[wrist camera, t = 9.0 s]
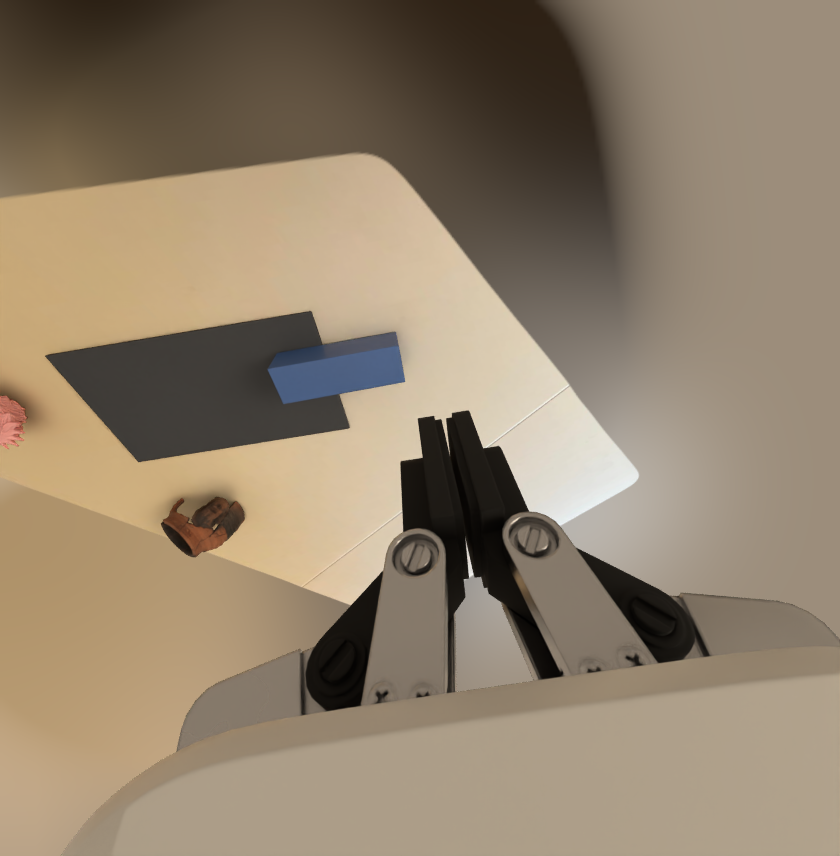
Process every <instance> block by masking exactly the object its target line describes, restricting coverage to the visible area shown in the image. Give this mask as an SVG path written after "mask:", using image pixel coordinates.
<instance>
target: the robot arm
mask: <svg viewBox="0 0 840 856" xmlns="http://www.w3.org/2000/svg"><path fill="white" fill-rule="evenodd" d="M446 422H447V431H448V441H449V450H450V454H449V450H448V446H447V442H446V437H445V433H444V429H443V424H442V420H441V419H440V420H435V418H434V416H430V417H424V418H418V424H419V432H420V440H421V447H422V455H423V458H419V459H413V460H406V461H401V488H402V511H403V533H401V534H399V535H398V536H397V537H396V538H394V540H393V541H392V542H391V544H390V545H389V547H388V550H387V553H386V558H385V564H384V570H383V571H382V572H381V573H380V575H379V576H378V577H377V578H376V579H375V580H374V581H373V582H372V583H371V584H370V585H369V587H368V588H367V589H366V590H365V591H364V592H363V593H362V594H361V595H360V596H359V597H358V599H357V600H356V601H355V602H354V603H353V604H352V605H351V606H350V607H349V608H348V609H347V611H346V612H345V613H344V614H343V615H342V616H341V617H340V618H339V619H338V620H337V622H336V623H335V624H334V625H333V626H332V627H331V628H330V629H329V630H328V631H327V632H326V633H325V635H324V636H323V637H322V638H321V639H320V640H319V642H318V643H317V644H316V646H315V647H313V648H310V649H308V650H305V651H302V650H301V649H298V650H296V651H293V652H291V653H288V654H286V655H283V656H281V657H278V658H276V659H274V660H271V661H269V662H267V663H264V664H261V665H259V666H257V667H254V668H252V669H249V670H247V671H245V672H242V673H240V674H237V675H235V676H232V677H230V678H228V679H225V680H223V681H220V682H218V683H216V684H215V685H213V686H211V687H210V688H208V689H207V690H206V691H205V692H204V693H203V694H202V695H201V696H200V697H199V698H198V699H197V700H196V701H195V702H194V704H193V706H192V707H191V709H190V710H189V712H188V713H187V715H186V718H185V720H184V724H183V726H182V729H181V733H180V737H179V742H178V747H177V751H176V752H175V753H173V754H172V755H170V756H168V757H166V758H164V759H162V760H160V761H159V762H157V763H156V764H154V765H153V766H152V767H150V768H149V769H147V770H145V771H144V772H143V773H141V774H139V775H138V776H137V777H135V778H134V779H132V780H131V781H130V782H129V783H127V784H126V785H125V786H124V787H123V788H121V789H120V790H119V791H117V792H116V793H115V794H114V795H113V796H111V797H110V798H109V799H108V800H107V801H106V802H105V803H104V804H103V805H102V806H101V807H100V808H99V809H98V810H96V811H95V813H94V814H93V815H92V816H91V817H90V818H89V819H88V820H87V822H86V823H85V824H84V825H83V826H82V828H81V829H80V830H79V831H78V833H77V834H76V835H75V837H74V838H73V839H72V840H71V842H70V843H69V844H68V846H67V847H66V849H65V850H64V852H63V853H62V854H61V856H840V639H839V638H838V637H837V636H836V635H835V634H834V632H833V631H832V630H831V629H830V628H829V627H827V625H826V624H825V623H824V622H822V621H821V620H819V619H818V618H816V617H815V616H814V615H812V614H811V613H809V612H808V611H806V610H803V609H801V608H799V607H797V606H795V605H793V604H789V603H784V602H780V601H774V600H762V599H750V598H738V597H726V596H714V595H703V594H691V593H680V595H679V596H669V595H667V594H666V593H664V592H662V591H661V590H659V589H657V588H655V587H653V586H651V585H649V584H647V583H645V582H643V581H641V580H639V579H637V578H635V577H633V576H631V575H630V574H627V573H625V572H624V571H622V570H620V569H618V568H616V567H614V566H612V565H610V564H608V563H606V562H604V561H601V560H600V559H598V558H596V557H594V556H592V555H590V554H588V553H586V552H583V551H582V550H580V549H578V548H576V547H575V546H574V545H573V544H572V542H571V541H570V539H569V538H568V536H567V535H566V534H565V533H564V531H563V530H562V528H561V527H560V526H559V525H558V524H557V523H556V522H555V521H554V520H553V519H551V518H549V517H548V516H546V515H543V514H540V513H537V512H529V510H528V508H527V506H526V504H525V501H524V499H523V497H522V494H521V492H520V490H519V488H518V485H517V483H516V481H515V479H514V476H513V474H512V472H511V469H510V467H509V465H508V463H507V460H506V458H505V456H504V454H503V451H502V449H501V448H500V447H499V446H496V447H490V448H483V447H482V444H481V441H480V439H479V436H478V433H477V431H476V428H475V425H474V423H473V420H472V417H471V414H470V412H469V411H462V412H456V413H452V418H446ZM465 538H466V540H465ZM466 542H467V547H468V551H469V556H470V560H471V565H472V569H473V573H474V577H481V578H482V582H483V586H484V588H488V592H489V594H490V595H492V596H493V597H495V598H496V599H497V600H499V601H500V602H501V603H502V607H503V610H504V612H505V615H506V617H507V619H508V622H509V624H510V626H511V629H512V631H513V633H514V636H515V638H516V640H517V643H518V645H519V647H520V650H521V652H522V654H523V657H524V659H525V661H526V664H527V666H528V668H529V671H530V673H531V675H532V678H533V680H534V681H530V682H523V683H516V684H509V685H502V686H495V687H488V688H481V689H474V690H467V691H460V692H457V688H456V687H457V686H456V685H457V684H456V623H455V611H456V610H457V609H458V607H459V605H460V604H461V603H462V601H463V600H464V598H465V588H464V579H468V578H469V573H468V562H467V551H466Z"/></svg>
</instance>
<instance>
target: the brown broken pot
mask: <svg viewBox="0 0 840 856" xmlns="http://www.w3.org/2000/svg"><path fill="white" fill-rule="evenodd" d="M183 502H184V499H183V498H182V499H180V500H179V501H178V502H177V503H176V504H175V505H174V506H173V508H172V509H171V511H170V514H169V516H168V517H167V518H166V519H164V520H163V522H162V523H161V526H162V528H163V530H164V531H165V533H166V535H167V536H168V537H169V539H170V540H171V541H172V542H173V543H174V544H175V545H176V546H177V547H178V548H179V549H180V550H181V551H182V552H184V553H185V554H186V555H188V556H191V557H197V556H198V555H199V554H200V553H201V552H206V551H209V550H213V549H216V548H218V547H219V546H221V545H222V544H223V543H224V542H225V541H227V540H228V539H229V538H230V537H231V536H232V535H233V533H234V532H236V531H237V530H238V528H239V526H240V525H241V524H242V523H243V521H244V519H245V517H244V512H243V509H242V508H241V506H240V505H239V504H238V502H234V503H233V505H232V506H231V507H230V508H229V503H228V501H227V500H226V499H224V498H220V497H215V498H214V499H212V500H211V501H210V502H209V503H208V504H207V505H205V506H203V507H201V508H200V509H198V510H197V511H196V512H195V514H194V515H193V516H192V519H191V520H192V522H193V524H192V523H188V521H189V518H188V517H186V516H184V515H183V514H179V513H177V512H176V511H177V508H178V507H179V506H180V505H181V504H182V503H183ZM215 523H216V524H219V525H218V526H217V528H216V529H215V530H213V528H212V527H213V526H214V525H215Z"/></svg>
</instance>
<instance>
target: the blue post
mask: <svg viewBox="0 0 840 856" xmlns="http://www.w3.org/2000/svg"><path fill="white" fill-rule="evenodd" d="M268 371H269V374H270V376H271V378H272V380H273V382H274V385H275V387H276V389H277V391H278V393H279V396H280V398H281V400H282V402H283V404H287V403H292V402H298V401H303V400H309V399H314V398H320V397H325V396H331V395H336V394H342V393H347V392H353V391H358V390H364V389H369V388H374V387H380V386H385V385H391V384H396V383H402V382H405V378H404V372H403V367H402V361H401V356H400V350H399V345H398V340H397V335H396V332H392V333H386V334H381V335H375V336H370V337H364V338H358V339H353V340H347V341H342V342H336V343H331V344H325V345H319V346H314V347H308V348H303V349H297V350H292V351H286V352H280V353H277V354H276V356H275V358H274V359H273V361H272V363H271V364H270V366H269V368H268Z"/></svg>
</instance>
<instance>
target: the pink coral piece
mask: <svg viewBox="0 0 840 856" xmlns="http://www.w3.org/2000/svg"><path fill="white" fill-rule="evenodd" d="M24 410H25V408H23V407H21V406H20V404H18V403H17V401H14V400H11V399H9V398H8V397H7V396H0V445H2V446H4V447H5V448H7V449H9V448H8V447H7V445H6V443H7V444H13V445H16V446H19V445H17V443H16V442H15V441H14V440H21V441H24V440H23V439H22V438H21V437H19V434H21V433H25V432H24V431H23V426H22V423H27V422H26V421H25V420H24V419H27V418H28V417H26V416H25V415H24V414H26V413H24V412H25V411H24Z"/></svg>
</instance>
